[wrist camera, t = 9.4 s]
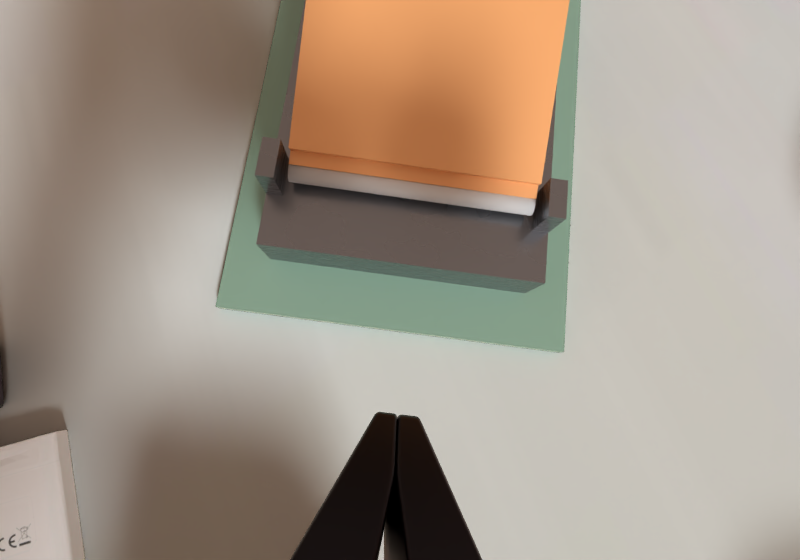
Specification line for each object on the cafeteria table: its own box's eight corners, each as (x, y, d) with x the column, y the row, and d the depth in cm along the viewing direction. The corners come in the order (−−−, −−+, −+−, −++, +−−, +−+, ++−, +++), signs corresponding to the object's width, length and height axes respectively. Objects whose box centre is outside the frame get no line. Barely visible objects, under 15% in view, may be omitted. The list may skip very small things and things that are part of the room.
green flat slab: (558, 352, 21) (564, 352, 20) (220, 308, 20) (215, 306, 20) (577, -31, 25) (582, -40, 25) (301, -75, 25) (299, -86, 24)
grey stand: (525, 293, 21) (669, 221, 11) (270, 259, 20) (167, 150, 10) (545, -10, 24) (668, -283, 14) (328, -44, 24) (294, -349, 14)
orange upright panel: (536, 214, 17) (580, -74, 17) (284, 178, 17) (319, -116, 16) (524, 217, 19) (565, -47, 18) (292, 184, 19) (325, -85, 18)
